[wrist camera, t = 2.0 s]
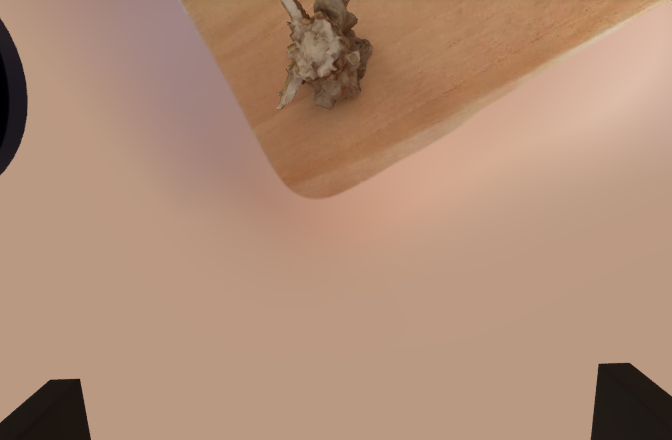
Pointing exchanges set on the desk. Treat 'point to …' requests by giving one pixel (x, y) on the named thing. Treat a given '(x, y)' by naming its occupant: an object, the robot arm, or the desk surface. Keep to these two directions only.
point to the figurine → (324, 52)
